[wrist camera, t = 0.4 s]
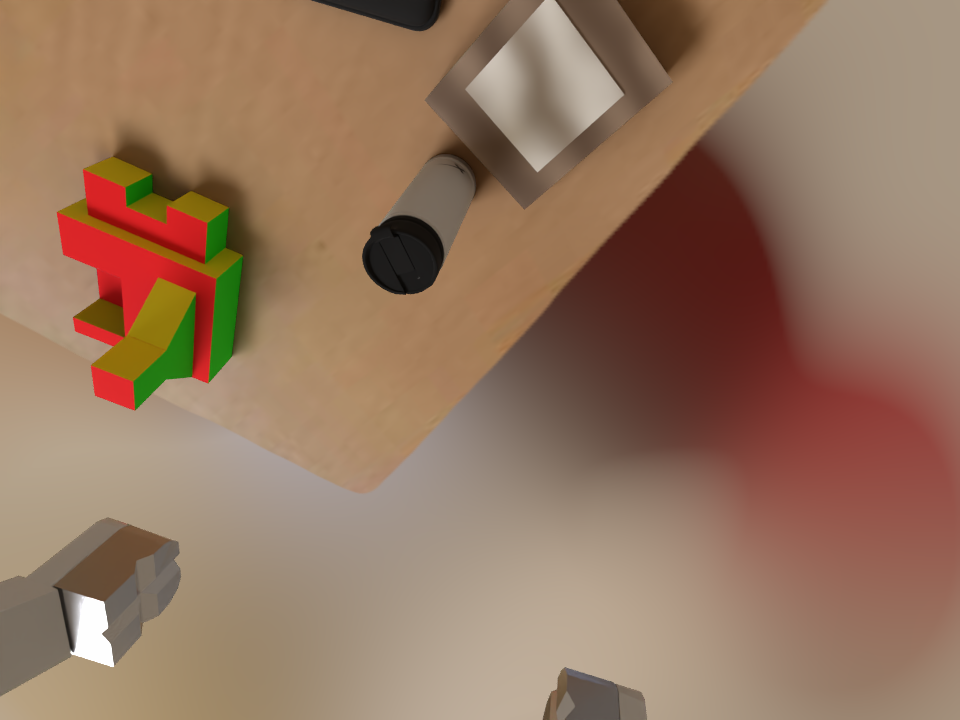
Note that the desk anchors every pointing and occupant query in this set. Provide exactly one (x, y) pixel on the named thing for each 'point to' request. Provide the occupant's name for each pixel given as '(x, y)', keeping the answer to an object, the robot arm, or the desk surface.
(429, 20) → the carrying case or bag
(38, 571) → the robot arm
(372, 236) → the travel mug
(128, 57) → the desk surface
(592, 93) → the walnut riser
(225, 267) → the building blocks toy
